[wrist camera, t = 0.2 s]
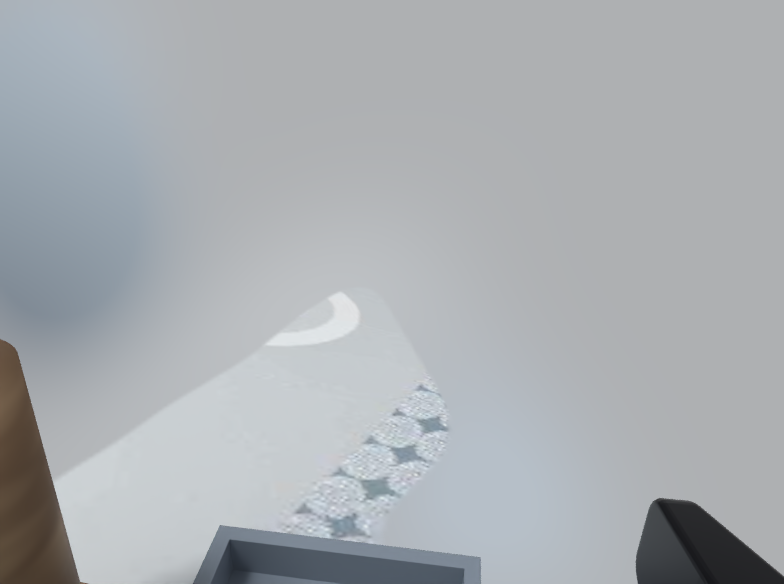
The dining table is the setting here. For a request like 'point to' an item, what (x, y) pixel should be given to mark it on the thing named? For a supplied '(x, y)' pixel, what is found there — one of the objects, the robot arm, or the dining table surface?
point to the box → (325, 561)
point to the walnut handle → (27, 491)
